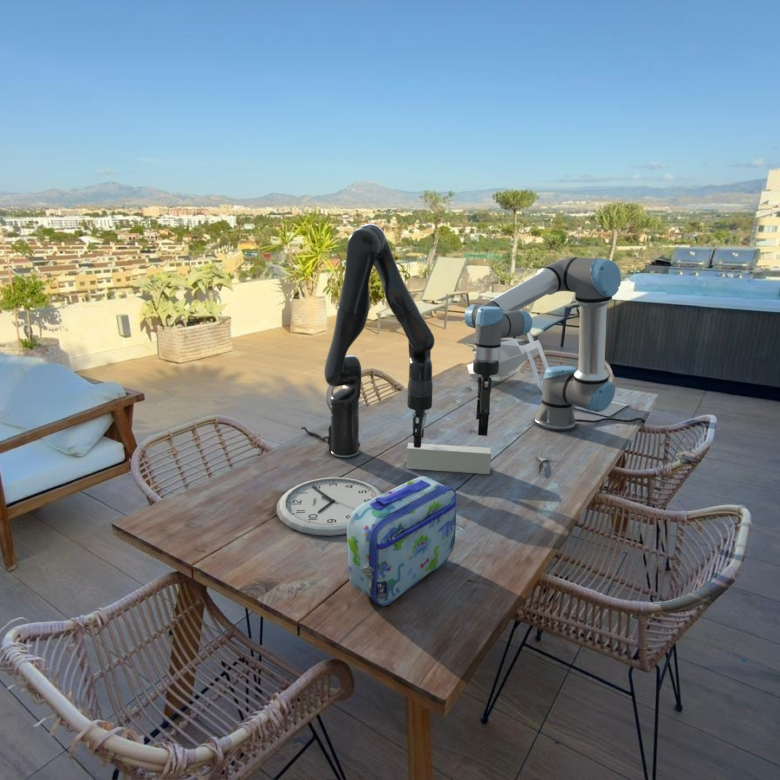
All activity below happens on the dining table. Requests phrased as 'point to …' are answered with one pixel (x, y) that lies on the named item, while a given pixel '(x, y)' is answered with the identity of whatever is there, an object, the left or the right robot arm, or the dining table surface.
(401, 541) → the lunch box
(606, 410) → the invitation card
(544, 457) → the fork
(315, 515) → the wall clock
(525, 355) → the white plastic object
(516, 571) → the dining table surface
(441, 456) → the beam
